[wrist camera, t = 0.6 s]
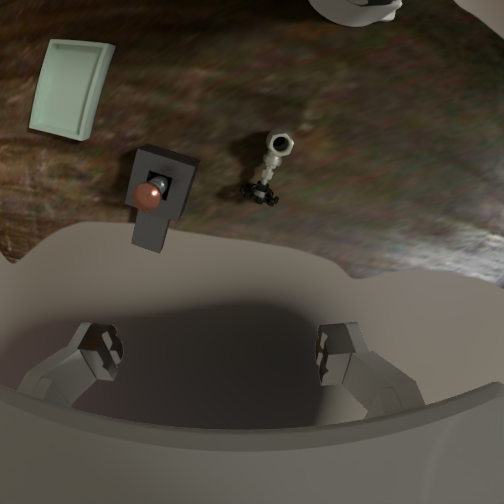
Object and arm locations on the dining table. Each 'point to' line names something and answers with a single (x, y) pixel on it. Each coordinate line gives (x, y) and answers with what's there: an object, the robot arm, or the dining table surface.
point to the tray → (70, 87)
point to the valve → (269, 168)
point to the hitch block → (173, 200)
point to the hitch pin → (150, 193)
